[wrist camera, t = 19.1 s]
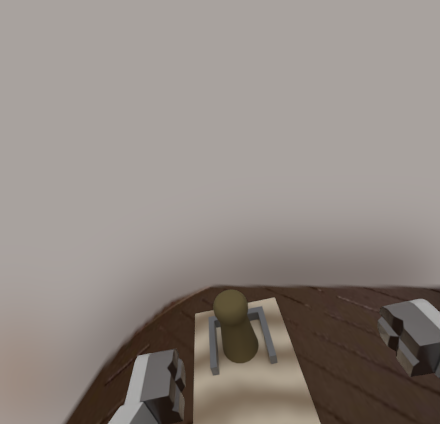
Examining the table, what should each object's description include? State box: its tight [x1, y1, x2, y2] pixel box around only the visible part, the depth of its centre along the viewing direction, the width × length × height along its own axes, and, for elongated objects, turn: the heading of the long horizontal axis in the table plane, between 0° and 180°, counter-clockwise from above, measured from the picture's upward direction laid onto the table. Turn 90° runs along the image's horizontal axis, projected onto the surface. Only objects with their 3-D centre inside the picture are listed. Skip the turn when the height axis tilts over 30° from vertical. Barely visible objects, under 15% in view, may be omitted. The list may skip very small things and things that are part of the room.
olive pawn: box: [213, 290, 259, 363], centre depth 37 cm, size 6×6×11 cm
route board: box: [193, 298, 320, 424], centre depth 38 cm, size 20×16×1 cm
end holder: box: [208, 306, 278, 376], centre depth 39 cm, size 9×10×2 cm
